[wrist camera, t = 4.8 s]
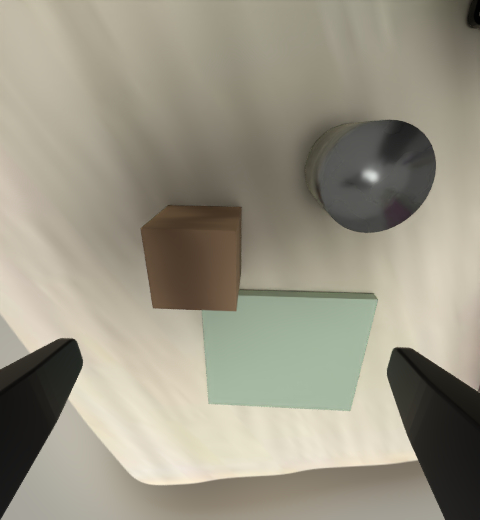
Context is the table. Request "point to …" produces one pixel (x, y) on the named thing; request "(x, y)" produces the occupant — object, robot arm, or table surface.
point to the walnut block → (194, 257)
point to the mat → (288, 349)
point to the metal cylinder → (371, 173)
